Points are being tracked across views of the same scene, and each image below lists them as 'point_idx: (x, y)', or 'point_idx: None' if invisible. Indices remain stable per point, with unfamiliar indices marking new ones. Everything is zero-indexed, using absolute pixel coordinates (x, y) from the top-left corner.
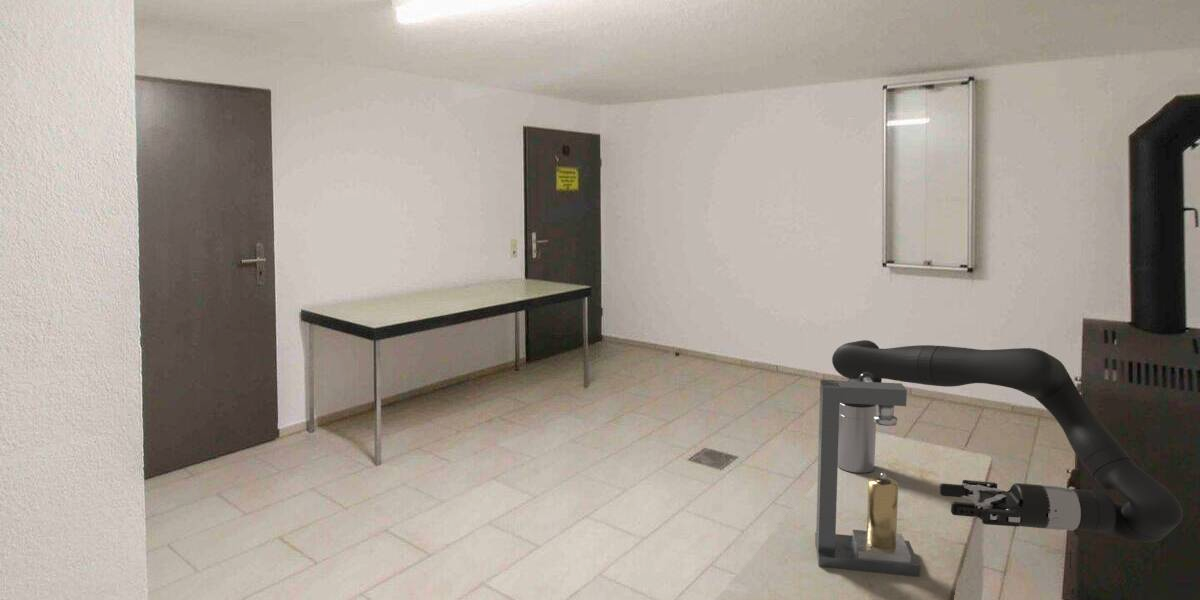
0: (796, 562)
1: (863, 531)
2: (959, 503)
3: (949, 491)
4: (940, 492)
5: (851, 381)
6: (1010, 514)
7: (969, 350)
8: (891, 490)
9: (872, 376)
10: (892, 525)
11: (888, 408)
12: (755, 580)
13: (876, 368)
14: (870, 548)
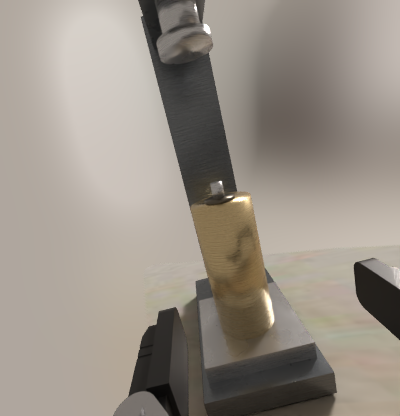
0: (204, 278)
1: (277, 292)
2: (158, 324)
3: (384, 305)
4: (356, 290)
5: None
6: None
7: None
8: (195, 217)
9: None
10: (217, 292)
11: (156, 8)
12: (160, 268)
13: None
14: (214, 310)
